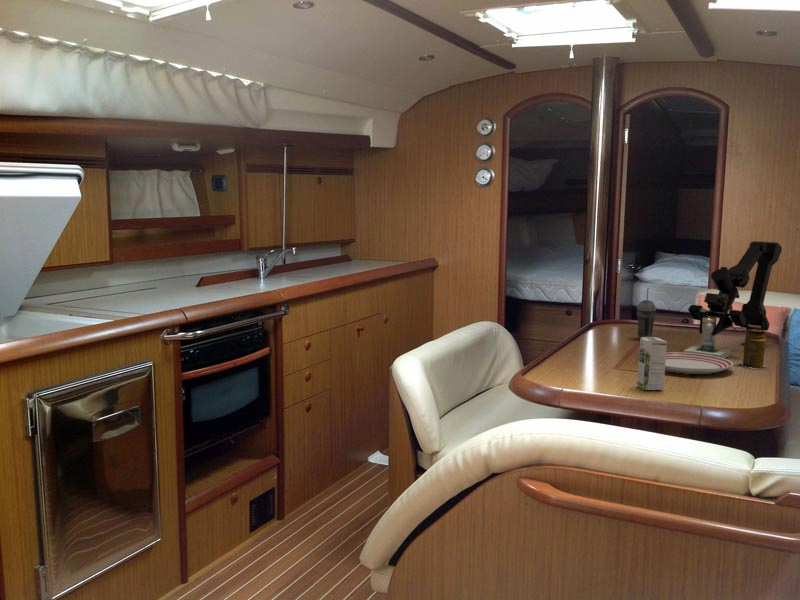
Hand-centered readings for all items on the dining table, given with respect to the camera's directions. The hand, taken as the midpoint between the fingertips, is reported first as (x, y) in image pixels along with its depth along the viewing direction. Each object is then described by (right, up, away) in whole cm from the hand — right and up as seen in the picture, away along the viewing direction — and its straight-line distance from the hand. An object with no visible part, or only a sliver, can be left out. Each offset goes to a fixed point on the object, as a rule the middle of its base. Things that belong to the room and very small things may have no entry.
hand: (706, 333), depth 255 cm
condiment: (+9, -10, -13) cm, 19 cm away
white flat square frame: (+1, -8, +2) cm, 8 cm away
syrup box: (-35, -14, -45) cm, 58 cm away
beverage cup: (-12, -4, +29) cm, 31 cm away
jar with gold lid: (+1, -6, +2) cm, 7 cm away
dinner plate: (-14, -11, -18) cm, 25 cm away
